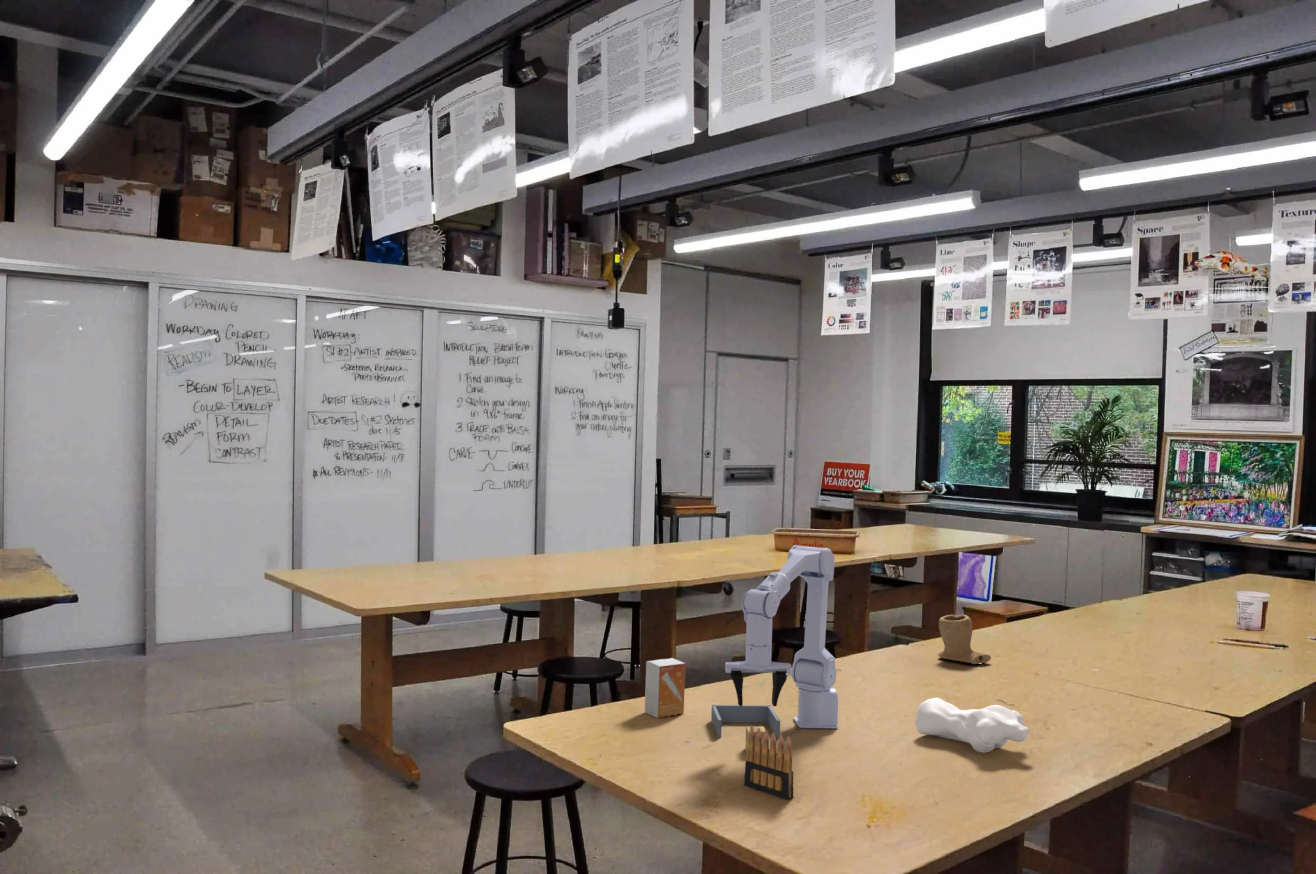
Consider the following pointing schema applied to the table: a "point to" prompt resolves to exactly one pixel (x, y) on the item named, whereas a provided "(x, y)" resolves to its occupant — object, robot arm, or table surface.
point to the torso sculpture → (971, 724)
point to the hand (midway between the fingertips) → (757, 704)
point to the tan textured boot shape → (959, 640)
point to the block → (754, 734)
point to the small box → (664, 687)
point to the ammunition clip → (769, 765)
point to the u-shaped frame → (744, 716)
